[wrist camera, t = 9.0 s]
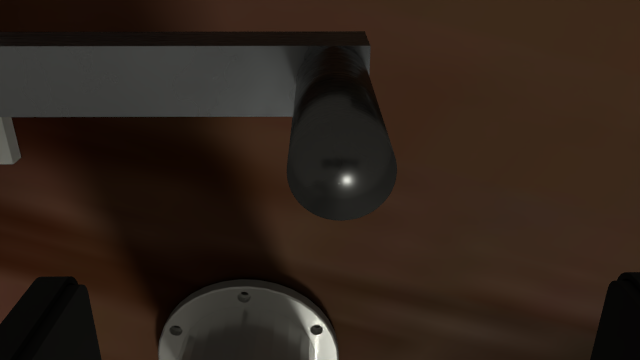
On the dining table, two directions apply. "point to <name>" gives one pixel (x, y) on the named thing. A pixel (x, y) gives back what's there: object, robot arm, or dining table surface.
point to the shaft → (222, 96)
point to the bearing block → (8, 142)
